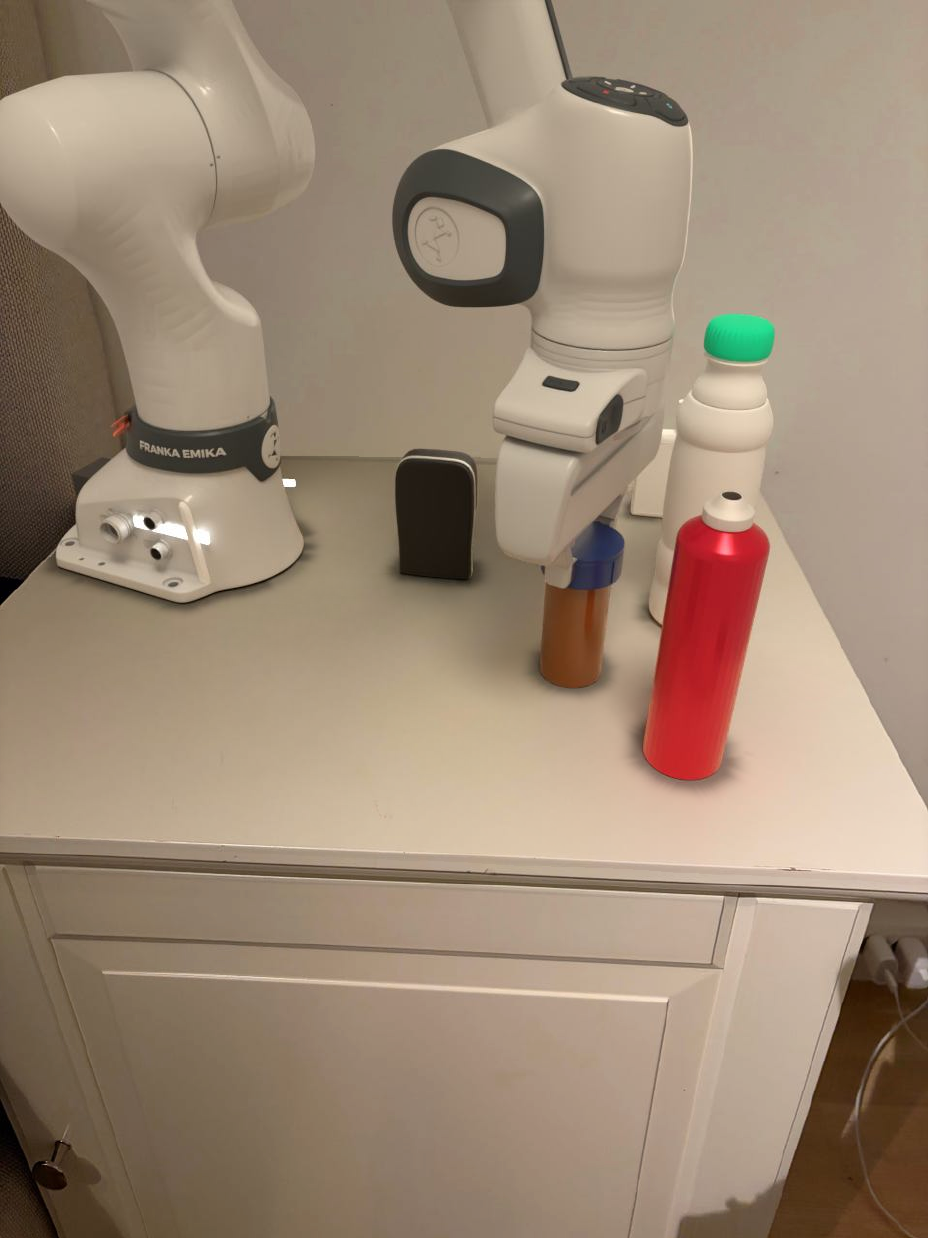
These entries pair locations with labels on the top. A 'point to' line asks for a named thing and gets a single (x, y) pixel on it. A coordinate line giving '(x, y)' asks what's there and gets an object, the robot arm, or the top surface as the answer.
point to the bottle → (705, 637)
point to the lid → (597, 557)
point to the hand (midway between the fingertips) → (580, 559)
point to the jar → (573, 635)
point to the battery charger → (436, 513)
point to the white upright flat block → (654, 479)
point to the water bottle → (717, 434)
